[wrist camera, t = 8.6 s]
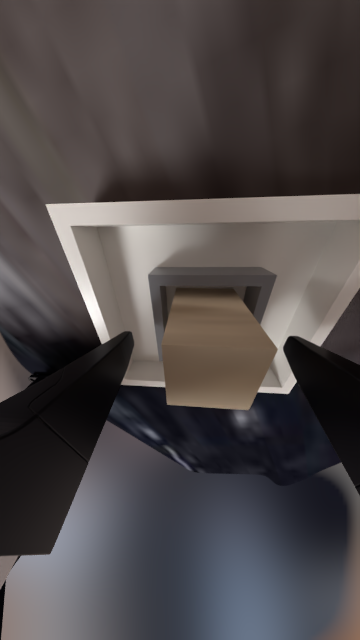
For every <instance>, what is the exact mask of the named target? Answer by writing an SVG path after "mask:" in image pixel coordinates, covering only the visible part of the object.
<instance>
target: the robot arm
mask: <svg viewBox="0 0 360 640" xmlns="http://www.w3.org/2000/svg"><path fill="white" fill-rule="evenodd" d="M133 348H134V339H133V335H132V332H131V331H124V332H122V333H120V334H119V335H117V336H115V337H114V338H112V339H110V340H109V341H107V342H105V343H104V344H102V345H100V346H99V347H97V348H95V349H94V350H92V351H90V352H89V353H87V354H85V355H84V356H82V357H80V358H79V359H77V360H75V361H74V362H72V363H70V364H69V365H67V366H65V368H62V369H60V370H58V371H57V372H55V373H53V374H52V375H31V376H30V377H28V379H29V381H30V382H31V384H30V385H29V386H28V387H27V388H26V389H25V390H23V391H21V392H19V393H17V394H16V395H14V396H12V397H10V398H8V399H6V400H4V401H2V402H1V403H0V640H1V631H2V619H3V607H4V595H5V583H6V578H7V576H8V574H9V572H10V570H11V569H12V567H13V566H14V565H15V563H16V562H17V560H18V559H19V558H20V556H21V555H46V554H50V553H51V551H52V549H53V547H54V545H55V542H56V540H57V538H58V535H59V533H60V530H61V528H62V526H63V523H64V521H65V518H66V516H67V514H68V511H69V509H70V506H71V504H72V501H73V499H74V497H75V494H76V492H77V489H78V487H79V485H80V482H81V480H82V477H83V475H84V473H85V470H86V468H87V465H88V462H89V460H90V458H91V455H92V453H93V451H94V448H95V446H96V443H97V441H98V438H99V436H100V434H101V431H102V429H103V426H104V424H105V422H106V419H107V417H108V414H109V412H110V409H111V407H112V405H113V402H114V400H115V397H116V395H117V393H118V390H119V388H120V385H121V383H122V381H123V378H124V376H125V373H126V371H127V368H128V365H129V362H130V358H131V355H132V351H133ZM283 351H284V354H285V356H286V359H287V361H288V363H289V366H290V368H291V370H292V373H293V375H294V377H295V379H296V381H297V382H298V384H299V386H300V388H301V390H302V392H303V393H304V395H305V397H306V399H307V401H308V402H309V404H310V406H311V408H312V410H313V411H314V413H315V415H316V417H317V419H318V420H319V422H320V424H321V426H322V428H323V430H324V431H325V433H326V435H327V437H328V439H329V440H330V442H331V444H332V446H333V448H334V449H335V451H336V453H337V455H338V457H339V459H340V460H341V462H342V464H343V466H344V468H345V469H346V471H347V473H348V475H349V477H350V478H351V480H352V482H353V484H354V485H355V488H356V489H357V491H358V493H359V495H360V365H358V364H356V363H354V362H352V361H350V360H348V359H345V358H343V357H341V356H339V355H337V354H335V353H333V352H331V351H329V350H326V349H324V348H322V347H320V346H318V345H316V344H314V343H312V342H310V341H307V340H305V339H303V338H301V337H299V336H289V337H288V338H287V340H286V342H285V344H284V346H283Z"/></svg>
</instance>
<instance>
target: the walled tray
mask: <svg viewBox="0 0 360 640" xmlns="http://www.w3.org/2000/svg"><path fill="white" fill-rule="evenodd" d="M46 207H47V209H48V212H49V214H50V217H51V219H52V222H53V224H54V227H55V229H56V232H57V234H58V237H59V239H60V242H61V244H62V247H63V249H64V252H65V254H66V257H67V259H68V262H69V264H70V267H71V269H72V271H73V274H74V276H75V279H76V281H77V284H78V286H79V289H80V291H81V294H82V296H83V299H84V301H85V304H86V306H87V309H88V311H89V314H90V316H91V319H92V321H93V324H94V326H95V329H96V331H97V334H98V336H99V338H100V341H101V343H102V344H104V343H105V342H107V341H109V340H110V339H112V338H114V337H115V336H117V335H119V334H120V333H122V332H124V331H131V332H132V335H133V339H134V348H133V351H132V355H131V358H130V362H129V365H128V368H127V371H126V373H125V376H124V378H123V381H122V383H121V385H136V386H154V387H165V377H164V367H163V357H162V347H161V344H162V340H163V336H164V332H165V328H166V325H167V321H168V317H169V313H170V310H171V306H172V302H173V298H174V295H175V291H176V288H216V289H234V290H235V291H236V293H237V294H238V295H239V297H240V298H241V300H242V301H243V302H244V304H245V305H246V306H247V308H248V309H249V310H250V312H251V313H252V315H253V316H254V317H255V319H256V320H257V321H258V323H259V324H260V325H261V327H262V328H263V330H264V331H265V332H266V334H267V335H268V336H269V338H270V339H271V340H272V342H273V343H274V345H275V346H276V347H277V349H278V351H277V353H276V355H275V357H274V359H273V361H272V363H271V365H270V367H269V369H268V371H267V373H266V375H265V377H264V380H263V382H262V384H261V386H260V388H259V390H258V392H265V393H283V394H289V392H290V391H291V389H292V388H293V386H294V385H295V383H296V382H297V381H296V379H295V377H294V375H293V373H292V370H291V368H290V366H289V363H288V361H287V359H286V356H285V354H284V351H283V346H284V344H285V342H286V340H287V338H288V337H289V336H299V337H301V338H303V339H305V340H307V341H310V342H312V343H314V344H316V345H318V346H321V345H322V343H323V342H324V340H325V339H326V337H327V336H328V334H329V333H330V331H331V330H332V328H333V327H334V325H335V324H336V322H337V321H338V319H339V318H340V316H341V315H342V313H343V312H344V311H345V309H346V308H347V306H348V305H349V303H350V302H351V300H352V299H353V297H354V296H355V294H356V293H357V291H358V290H359V288H360V194H343V195H312V196H282V197H252V198H222V199H192V200H162V201H132V202H102V203H72V204H46Z"/></svg>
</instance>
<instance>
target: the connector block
mask: <svg viewBox="0 0 360 640" xmlns="http://www.w3.org/2000/svg"><path fill="white" fill-rule="evenodd" d="M161 347H162V357H163V367H164V377H165V387H166V397H167V405H180V406H195V407H210V408H225V409H240V410H249V408H250V406H251V404H252V402H253V400H254V398H255V396H256V394H257V392H258V390H259V388H260V386H261V384H262V382H263V380H264V377H265V375H266V373H267V371H268V369H269V367H270V365H271V363H272V361H273V359H274V357H275V355H276V353H277V351H278V349H277V347H276V346H275V345H274V343H273V342H272V340H271V339H270V338H269V336H268V335H267V334H266V332H265V331H264V330H263V328H262V327H261V325H260V324H259V323H258V321H257V320H256V319H255V317H254V316H253V315H252V313H251V312H250V310H249V309H248V308H247V306H246V305H245V304H244V302H243V301H242V300H241V298H240V297H239V295H238V294H237V293H236V291H235V290H234V289H216V288H176V291H175V295H174V298H173V302H172V306H171V310H170V313H169V317H168V321H167V325H166V328H165V332H164V336H163V340H162V344H161Z"/></svg>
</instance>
